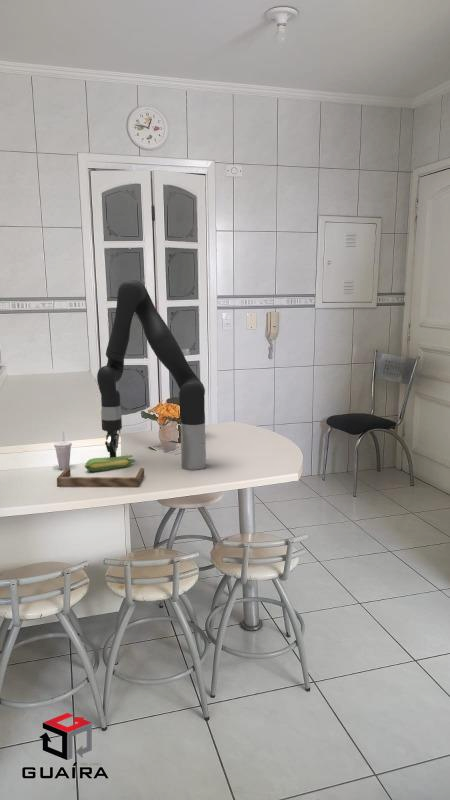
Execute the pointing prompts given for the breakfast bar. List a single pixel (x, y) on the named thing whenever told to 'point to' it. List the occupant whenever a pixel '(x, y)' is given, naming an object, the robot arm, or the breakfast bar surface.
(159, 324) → the robot arm
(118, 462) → the edible corn
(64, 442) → the smoothie
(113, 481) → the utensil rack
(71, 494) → the breakfast bar surface
